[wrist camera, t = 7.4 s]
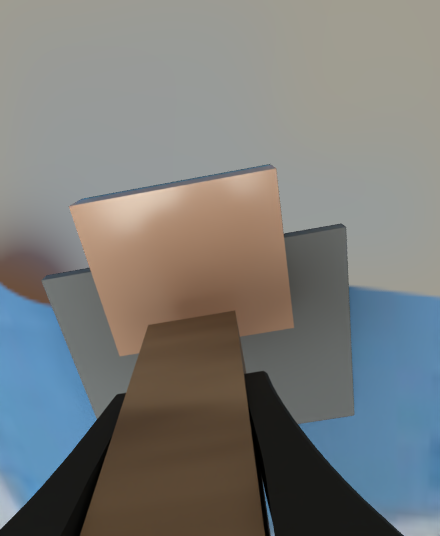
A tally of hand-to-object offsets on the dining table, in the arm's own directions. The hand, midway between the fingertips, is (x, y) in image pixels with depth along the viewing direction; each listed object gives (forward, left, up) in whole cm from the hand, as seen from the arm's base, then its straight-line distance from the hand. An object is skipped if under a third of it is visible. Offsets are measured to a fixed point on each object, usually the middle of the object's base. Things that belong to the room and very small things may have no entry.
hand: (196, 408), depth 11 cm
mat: (-3, 0, -7) cm, 8 cm away
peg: (0, 0, -3) cm, 3 cm away
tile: (-1, 0, -6) cm, 6 cm away
